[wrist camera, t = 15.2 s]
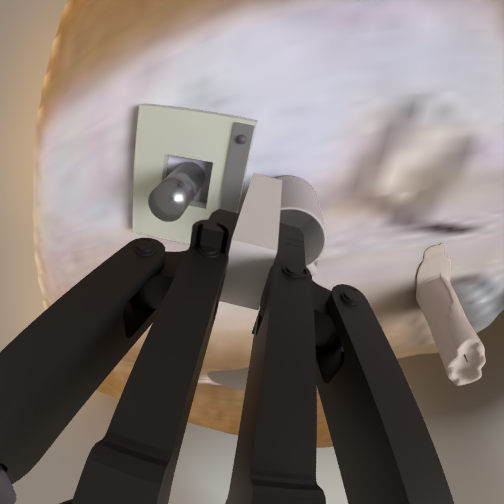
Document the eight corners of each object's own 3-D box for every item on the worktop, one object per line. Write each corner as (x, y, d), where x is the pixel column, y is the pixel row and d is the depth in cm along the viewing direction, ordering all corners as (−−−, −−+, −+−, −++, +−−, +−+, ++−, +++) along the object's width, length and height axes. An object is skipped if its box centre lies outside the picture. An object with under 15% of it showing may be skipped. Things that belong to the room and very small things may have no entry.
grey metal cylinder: (176, 159, 42) (149, 182, 33) (206, 164, 42) (186, 189, 33) (173, 188, 44) (147, 217, 36) (202, 194, 44) (182, 225, 36)
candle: (452, 240, 44) (509, 321, 27) (446, 300, 50) (484, 380, 33) (416, 248, 45) (464, 337, 28) (415, 309, 52) (446, 394, 35)
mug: (248, 191, 43) (237, 227, 34) (301, 164, 40) (306, 193, 31) (287, 254, 48) (287, 300, 39) (337, 232, 45) (349, 276, 36)
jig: (145, 103, 37) (136, 105, 35) (257, 120, 38) (255, 123, 35) (137, 225, 48) (130, 234, 46) (231, 246, 48) (228, 256, 46)
